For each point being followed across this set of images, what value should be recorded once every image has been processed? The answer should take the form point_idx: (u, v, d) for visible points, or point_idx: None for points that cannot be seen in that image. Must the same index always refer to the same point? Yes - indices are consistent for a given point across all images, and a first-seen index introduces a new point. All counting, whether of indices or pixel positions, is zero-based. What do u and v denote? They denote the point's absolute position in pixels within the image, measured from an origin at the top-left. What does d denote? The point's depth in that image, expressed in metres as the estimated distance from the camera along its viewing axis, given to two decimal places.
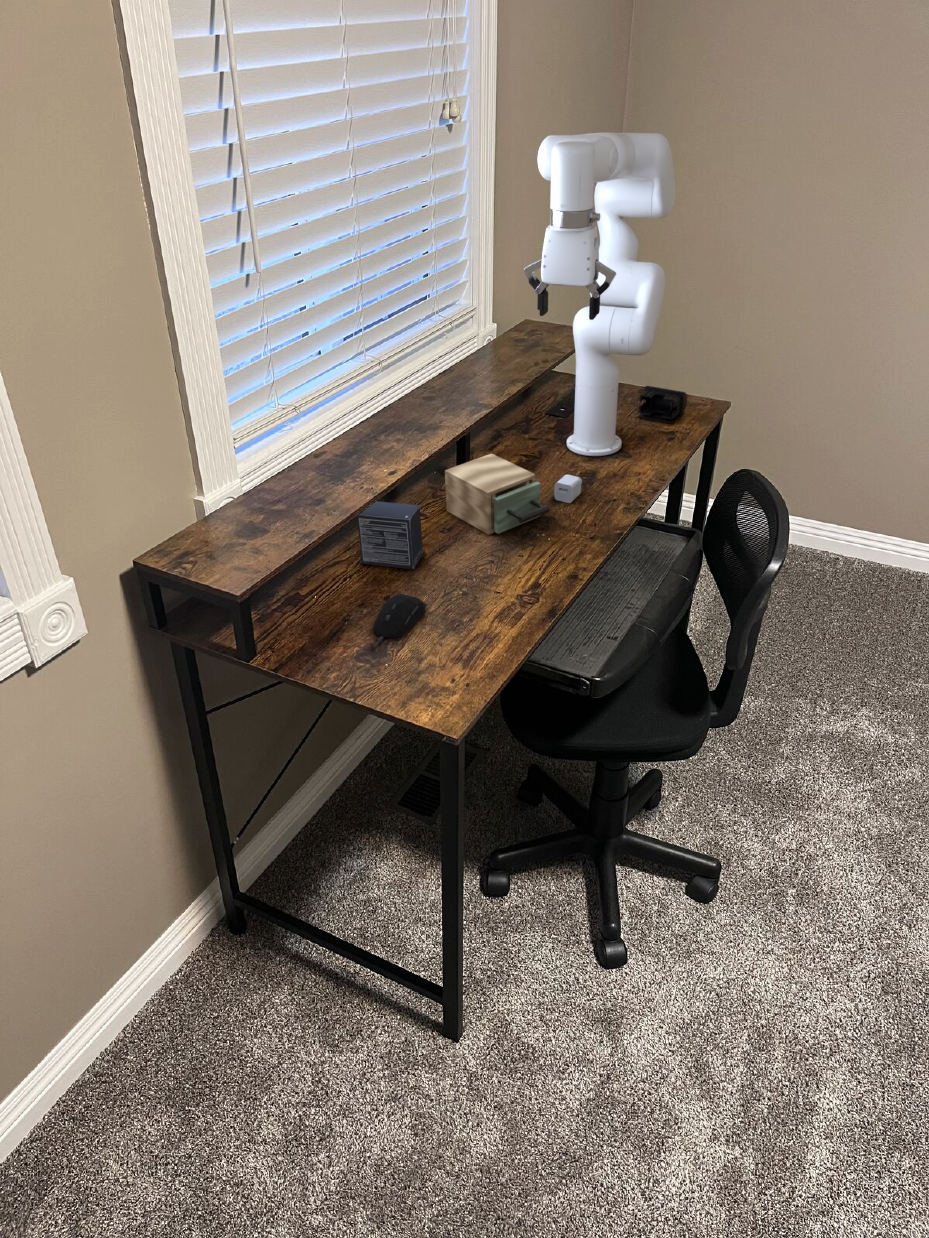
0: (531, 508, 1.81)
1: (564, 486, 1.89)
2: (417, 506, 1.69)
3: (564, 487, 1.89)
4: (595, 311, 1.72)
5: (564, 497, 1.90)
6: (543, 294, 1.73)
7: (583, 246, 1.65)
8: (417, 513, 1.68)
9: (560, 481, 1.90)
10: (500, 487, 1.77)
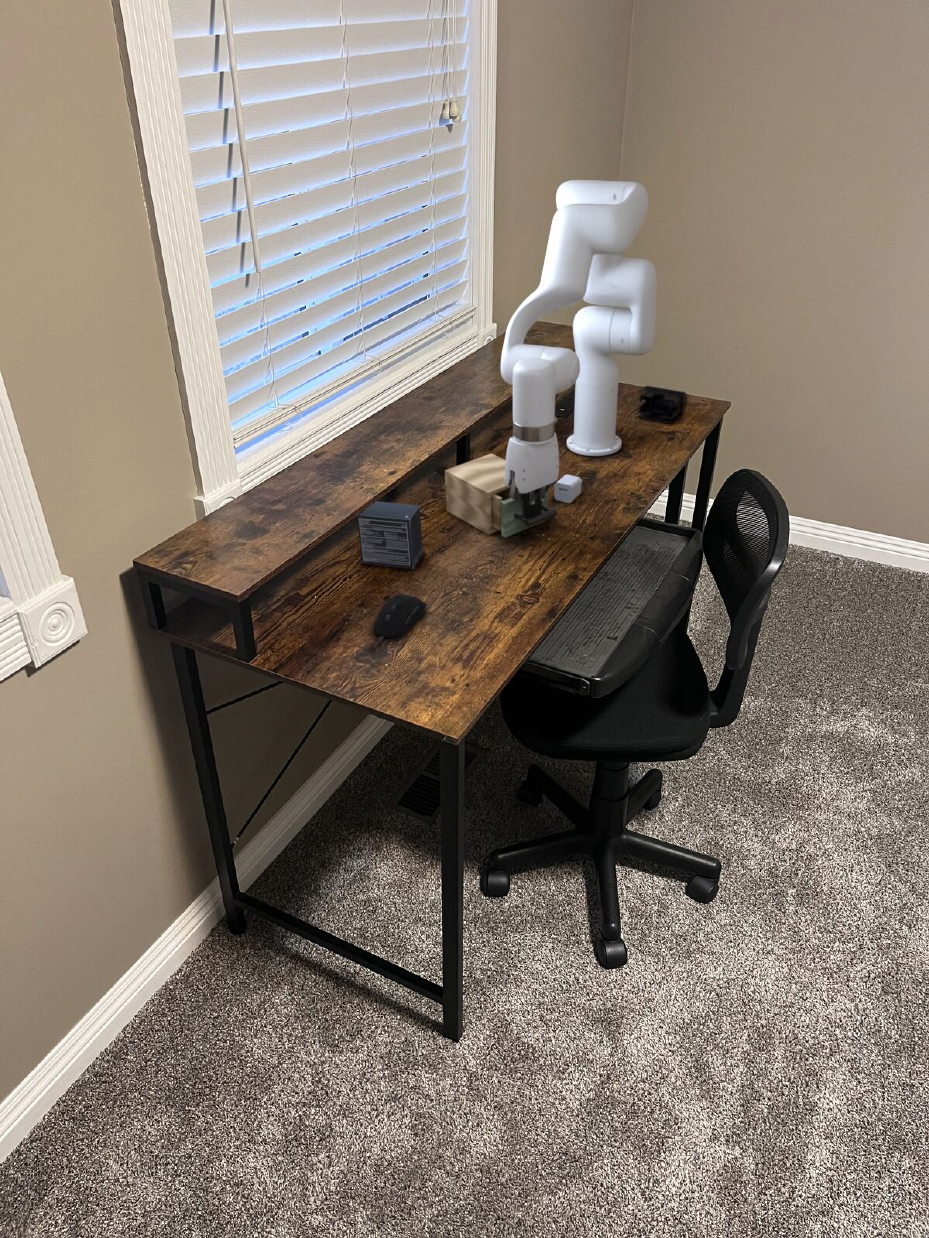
0: None
1: (564, 486, 1.89)
2: (417, 506, 1.69)
3: (564, 487, 1.89)
4: None
5: (564, 497, 1.90)
6: (535, 503, 1.74)
7: (554, 449, 1.69)
8: (417, 513, 1.68)
9: (560, 481, 1.90)
10: (500, 487, 1.77)
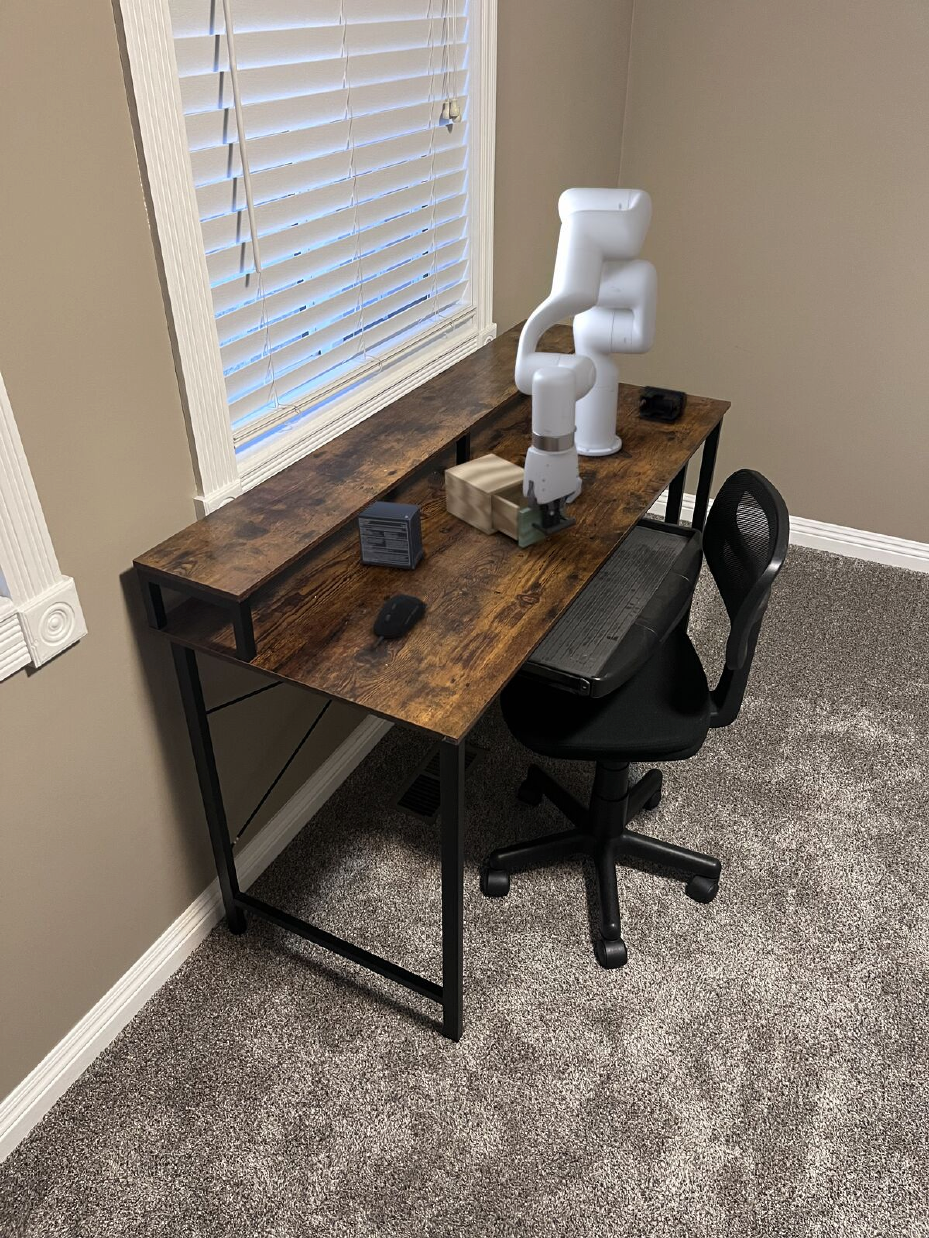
0: None
1: None
2: (417, 506, 1.69)
3: None
4: None
5: None
6: (554, 513, 1.71)
7: (573, 458, 1.66)
8: (417, 513, 1.68)
9: None
10: (500, 487, 1.77)
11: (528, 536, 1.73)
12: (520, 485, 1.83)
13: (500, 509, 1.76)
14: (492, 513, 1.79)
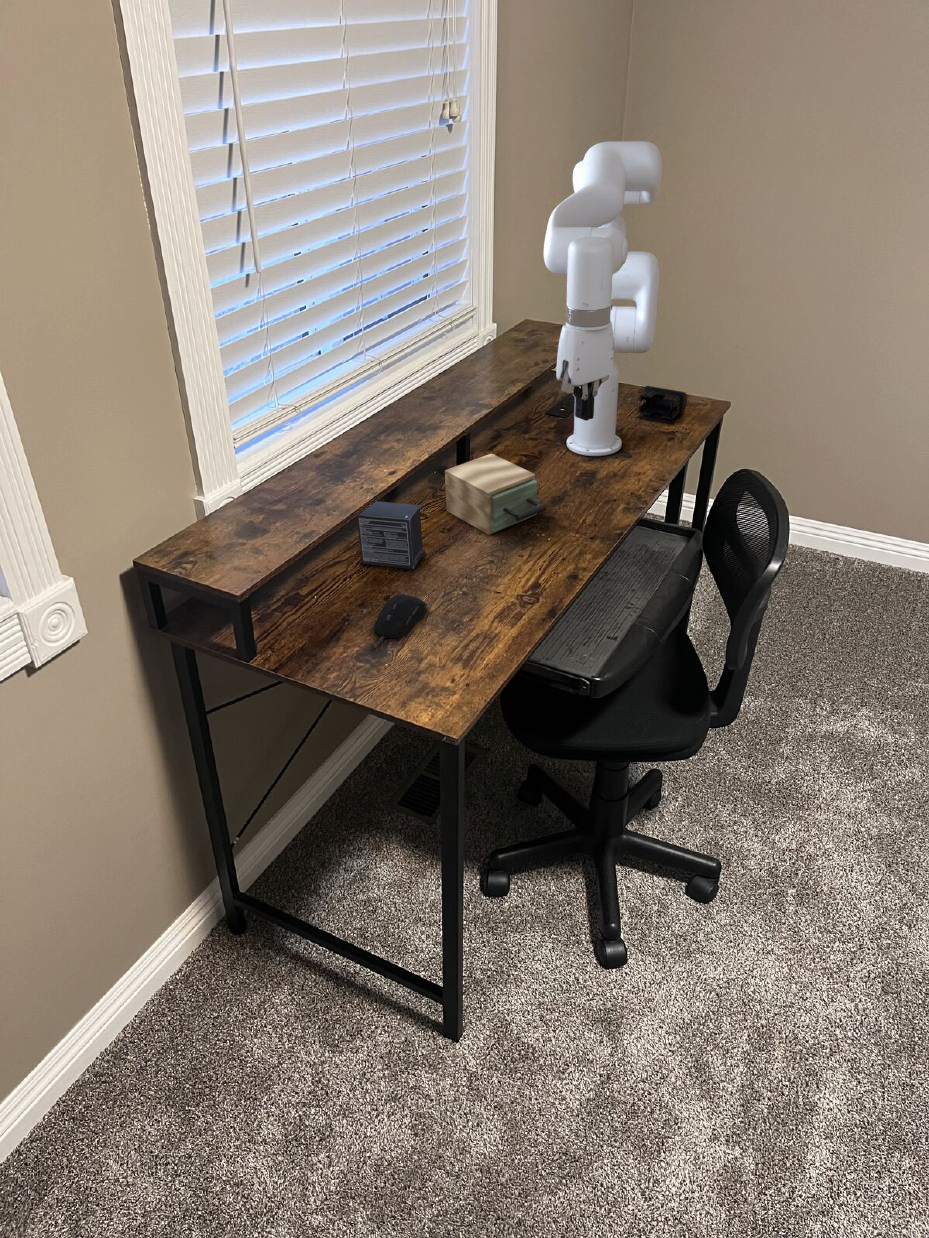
0: (528, 506, 1.82)
1: None
2: (417, 506, 1.69)
3: None
4: None
5: None
6: (587, 398, 1.65)
7: (609, 338, 1.60)
8: (417, 513, 1.68)
9: None
10: (500, 487, 1.77)
11: (500, 521, 1.79)
12: None
13: None
14: None
